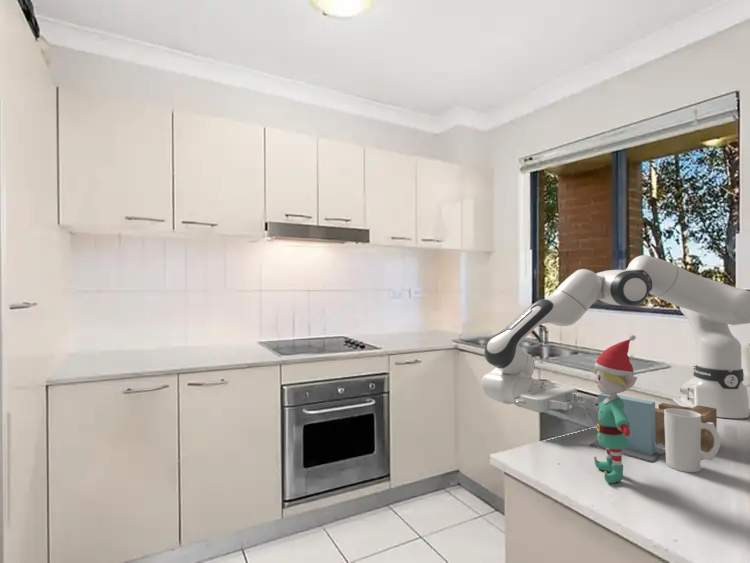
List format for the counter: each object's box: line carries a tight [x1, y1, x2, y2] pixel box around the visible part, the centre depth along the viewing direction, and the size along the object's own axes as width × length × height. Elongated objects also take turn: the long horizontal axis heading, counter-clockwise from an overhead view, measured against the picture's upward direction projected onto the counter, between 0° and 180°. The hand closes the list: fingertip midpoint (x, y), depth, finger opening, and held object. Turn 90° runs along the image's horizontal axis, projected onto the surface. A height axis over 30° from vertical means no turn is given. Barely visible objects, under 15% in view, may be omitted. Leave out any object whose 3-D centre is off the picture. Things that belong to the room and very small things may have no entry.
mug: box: [664, 409, 721, 473], centre depth 97 cm, size 10×7×12 cm, turn 45°
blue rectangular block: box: [597, 392, 657, 455], centre depth 110 cm, size 12×3×12 cm, turn 39°
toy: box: [593, 334, 638, 484], centre depth 94 cm, size 17×8×30 cm, turn 167°
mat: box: [589, 439, 666, 463], centre depth 109 cm, size 14×10×1 cm
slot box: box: [655, 402, 718, 452], centre depth 113 cm, size 12×10×9 cm
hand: (577, 403), depth 120 cm, fingers open, 8 cm apart
